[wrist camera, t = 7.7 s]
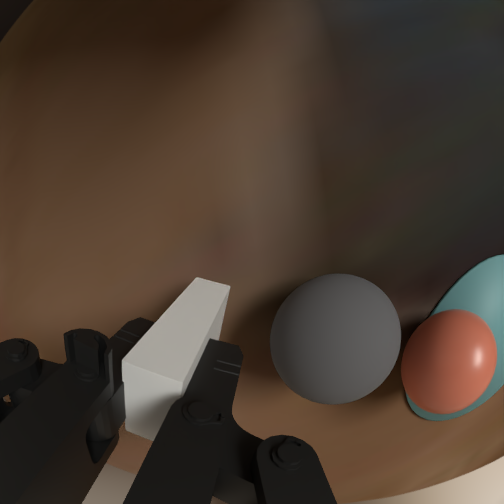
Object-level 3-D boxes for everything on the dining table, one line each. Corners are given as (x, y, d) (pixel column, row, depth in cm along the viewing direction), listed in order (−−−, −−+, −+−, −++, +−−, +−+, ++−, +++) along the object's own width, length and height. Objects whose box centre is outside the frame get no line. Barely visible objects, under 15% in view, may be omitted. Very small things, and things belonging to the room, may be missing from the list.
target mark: (371, 419, 15) (372, 421, 15) (456, 228, 12) (458, 229, 12) (486, 414, 15) (487, 415, 14) (552, 276, 12) (554, 277, 11)
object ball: (363, 375, 12) (443, 439, 7) (422, 278, 12) (514, 320, 7) (403, 384, 15) (463, 429, 10) (448, 310, 14) (514, 344, 10)
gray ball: (380, 426, 6) (413, 383, 10) (369, 248, 8) (404, 270, 12) (245, 412, 10) (314, 386, 14) (238, 279, 11) (308, 289, 15)
